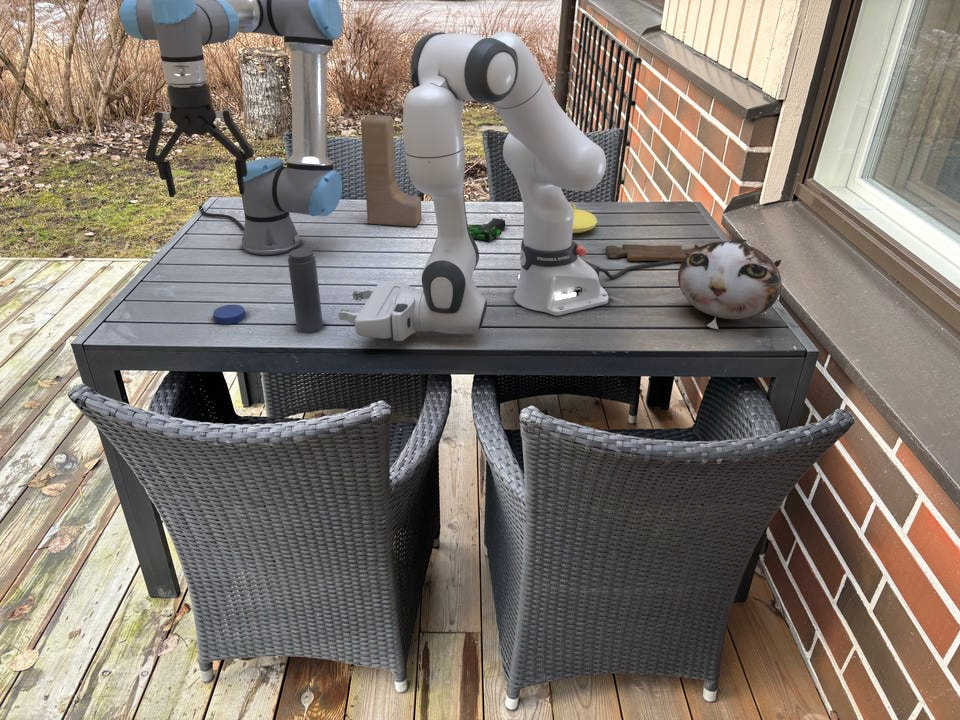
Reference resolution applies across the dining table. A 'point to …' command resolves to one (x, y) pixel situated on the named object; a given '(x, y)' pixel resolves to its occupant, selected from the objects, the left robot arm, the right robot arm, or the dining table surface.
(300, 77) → the left robot arm
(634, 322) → the dining table surface
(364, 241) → the dining table surface
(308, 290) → the jar
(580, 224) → the yellow thick rounded disc
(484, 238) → the handgun
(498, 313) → the dining table surface
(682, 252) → the brown notched plank
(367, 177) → the decorative block
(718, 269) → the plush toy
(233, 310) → the lid
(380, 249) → the dining table surface
